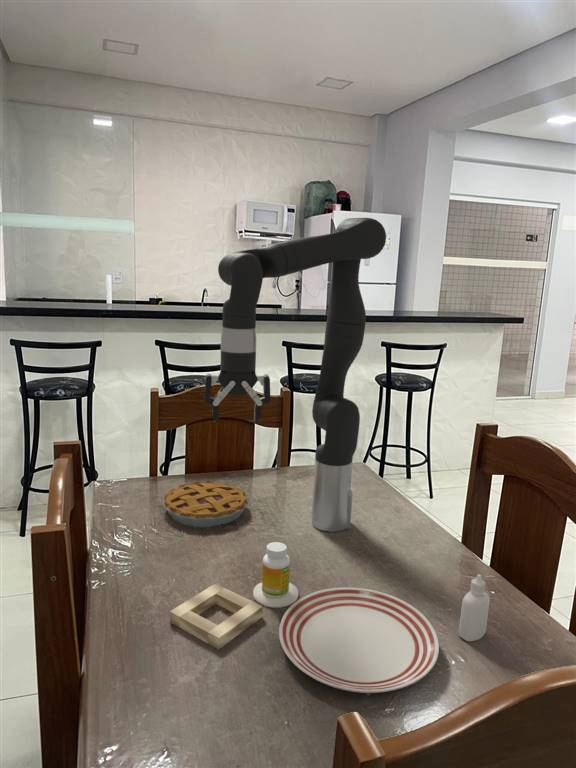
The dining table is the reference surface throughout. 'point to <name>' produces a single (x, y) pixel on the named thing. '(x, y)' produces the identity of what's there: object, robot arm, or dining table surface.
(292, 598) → the pale ceramic coaster
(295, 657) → the dinner plate
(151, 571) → the dining table surface
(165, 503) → the pie
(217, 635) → the birch pocket block
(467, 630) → the eye dropper bottle
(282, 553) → the supplement bottle
